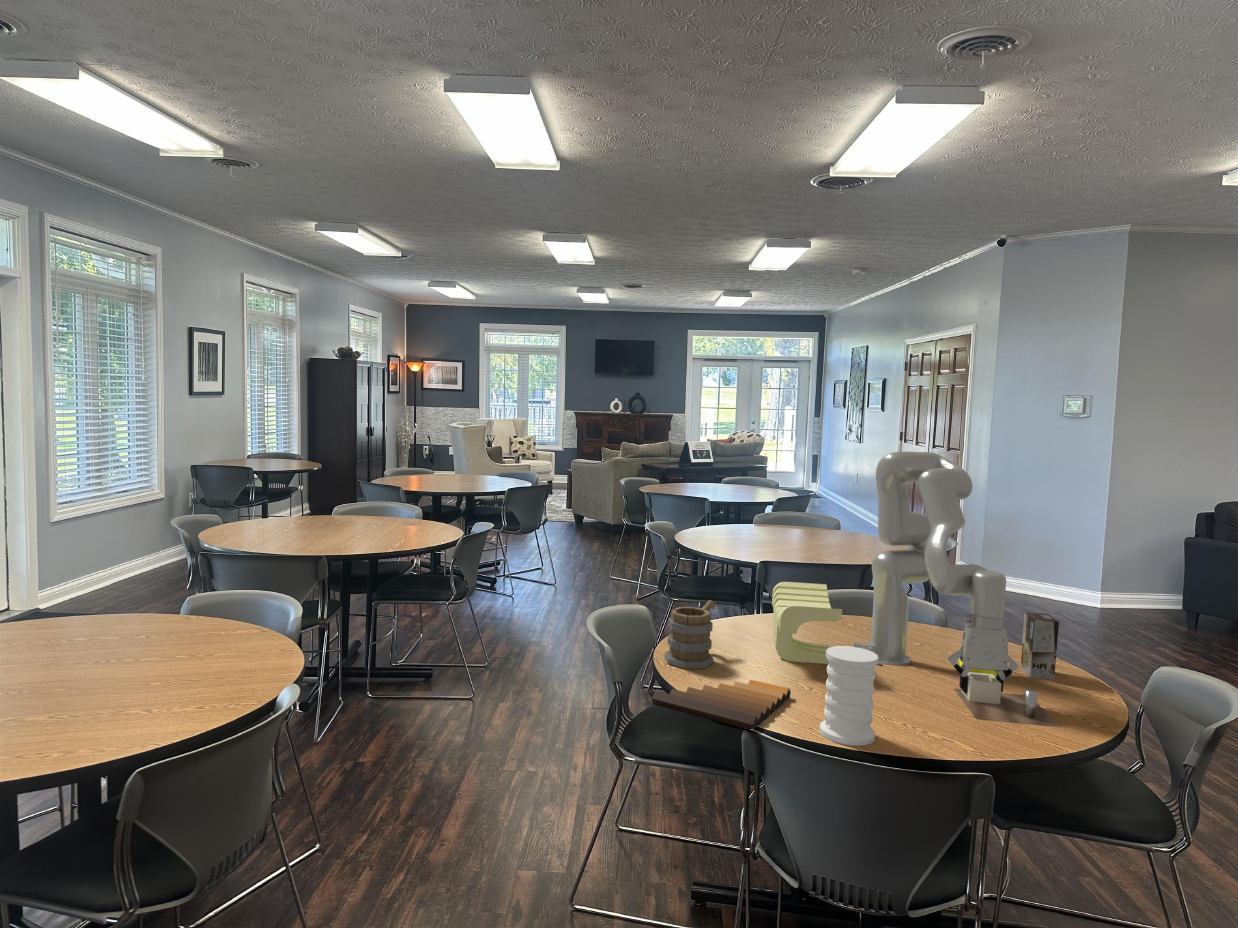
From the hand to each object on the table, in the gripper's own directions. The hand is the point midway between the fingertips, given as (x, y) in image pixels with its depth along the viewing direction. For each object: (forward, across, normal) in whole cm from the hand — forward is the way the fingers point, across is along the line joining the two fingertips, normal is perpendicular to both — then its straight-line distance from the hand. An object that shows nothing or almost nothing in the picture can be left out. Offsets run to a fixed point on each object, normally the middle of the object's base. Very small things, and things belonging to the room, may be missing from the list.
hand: (980, 692), depth 192 cm
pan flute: (+4, -62, -16) cm, 64 cm away
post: (+1, +8, -10) cm, 13 cm away
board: (+3, +4, -5) cm, 7 cm away
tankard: (+3, -71, +15) cm, 72 cm away
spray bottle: (+3, +7, +22) cm, 23 cm away
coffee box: (+3, +23, +29) cm, 37 cm away
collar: (+1, 0, 0) cm, 1 cm away
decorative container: (+3, -35, -28) cm, 45 cm away
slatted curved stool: (+3, -41, +27) cm, 49 cm away
